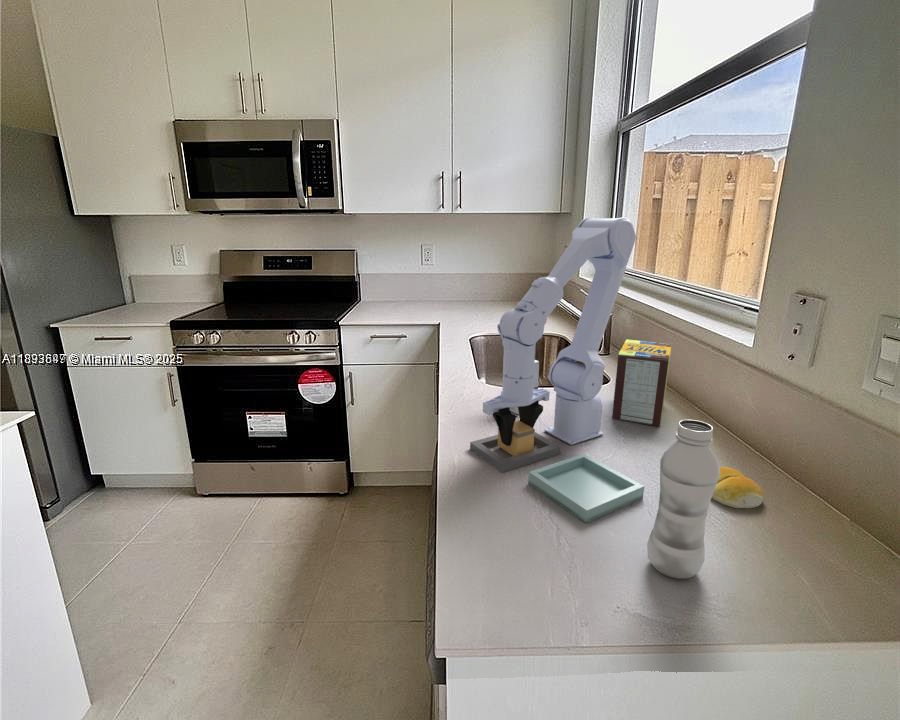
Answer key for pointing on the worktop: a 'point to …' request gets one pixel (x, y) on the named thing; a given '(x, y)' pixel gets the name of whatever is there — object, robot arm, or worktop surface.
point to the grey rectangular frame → (517, 461)
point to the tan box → (519, 439)
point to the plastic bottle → (684, 501)
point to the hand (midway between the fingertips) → (515, 441)
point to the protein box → (641, 382)
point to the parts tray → (585, 487)
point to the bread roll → (737, 490)
